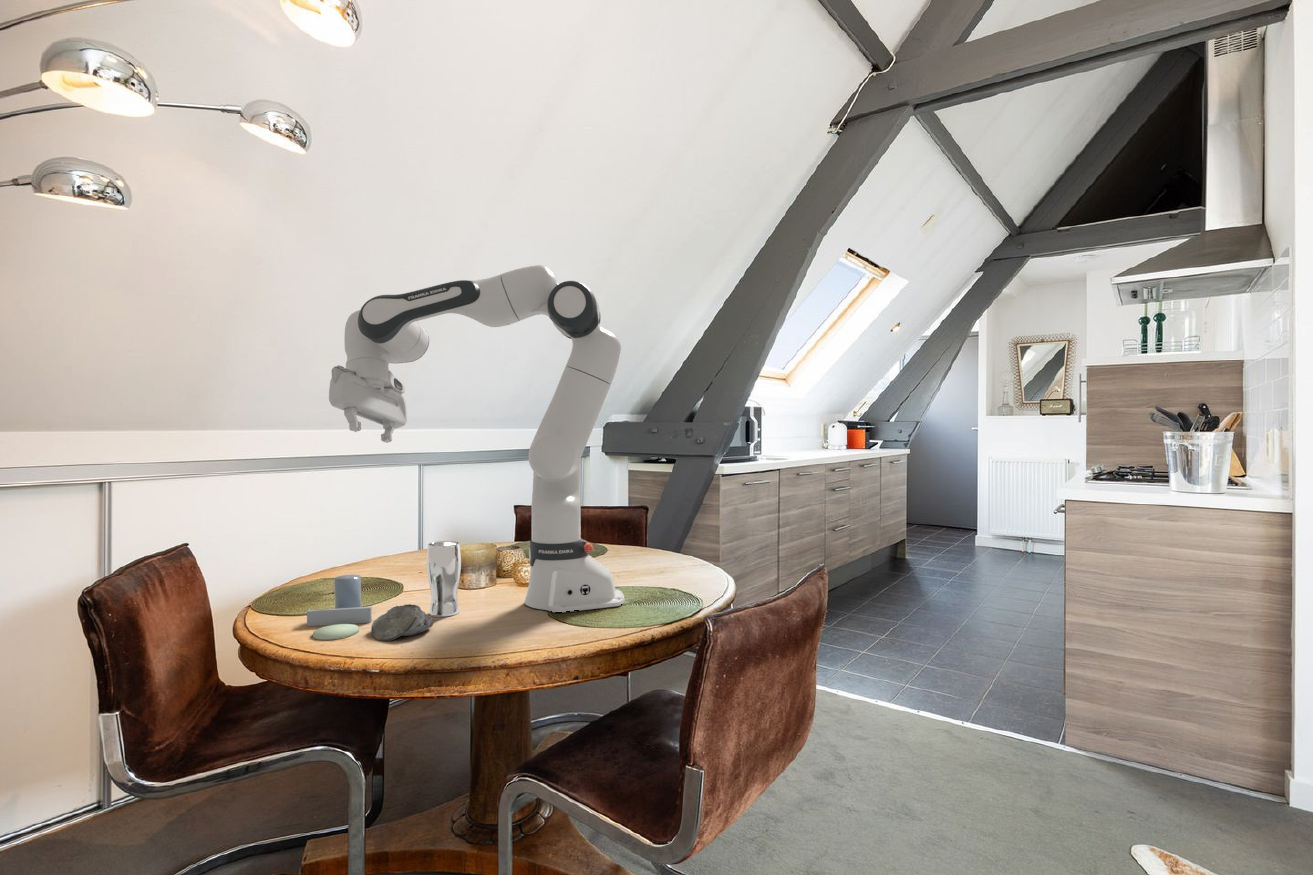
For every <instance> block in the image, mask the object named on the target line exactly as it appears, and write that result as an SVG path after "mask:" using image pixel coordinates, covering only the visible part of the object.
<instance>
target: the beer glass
mask: <svg viewBox="0 0 1313 875" xmlns="http://www.w3.org/2000/svg"><path fill="white" fill-rule="evenodd" d="M461 554H462V553H461V542H460V541H456V540H440V541H439V540H437V541H432V542H429V543H428V544H427V553H426V570H427V571H426V572H427V578H428V583H429V588H430V594H431V595H430V597H431V599H430V602H431V603H430V606H429V616H431V617H432V618H433V617H434V618H445V617H452V616H456V615H458V614H459V612H460V607H459V601H458V589H459V583H460V577H461V570H462V556H461Z"/></svg>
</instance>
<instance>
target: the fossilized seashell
mask: <svg viewBox="0 0 1313 875" xmlns="http://www.w3.org/2000/svg"><path fill="white" fill-rule="evenodd" d="M433 626H434V619H433V616H431V615H428V614H427V613H426V612H425V611H423V610H422V609H421V607H420V606H419V605H417V604H410V603H409V604H403V605H397V606H396V605H395V606H394V607H391V608H390V609H388V610H386V612H385V613H383V614H381V615H380V616H378V617H377V618H375V619H374V621H372V624H371V631H370V632H371V634H372V637H373V638H375V639H376V640H378V641H381V642H382V641H383V642H390V641H394V640H395V639H397V638H400V637H401V636H402V637H410V636H415V635H420V633H423V632H426V631H427V630H428V629H430V628H432V627H433Z"/></svg>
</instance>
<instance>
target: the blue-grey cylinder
mask: <svg viewBox="0 0 1313 875" xmlns="http://www.w3.org/2000/svg"><path fill="white" fill-rule="evenodd" d="M361 580H362V579H361V575H359V574H345V575H338V576H336V577H334V609H336V608H355V607H362V604H361V603H362V594H361V593H362V589H361V588H362V586H361V582H362V581H361Z"/></svg>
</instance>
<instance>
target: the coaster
mask: <svg viewBox="0 0 1313 875" xmlns="http://www.w3.org/2000/svg"><path fill="white" fill-rule="evenodd" d="M359 630H360V627H359V626H358V625H356V624H337V625H325V626H322V627H320V628H319V627H318V628H317V629H315V630H314V631H312V632H313V633H312V638H313V639H315V640H319V641H334V640H341V639H346V638H349V637H352V636H355V635H357V634H359Z"/></svg>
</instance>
